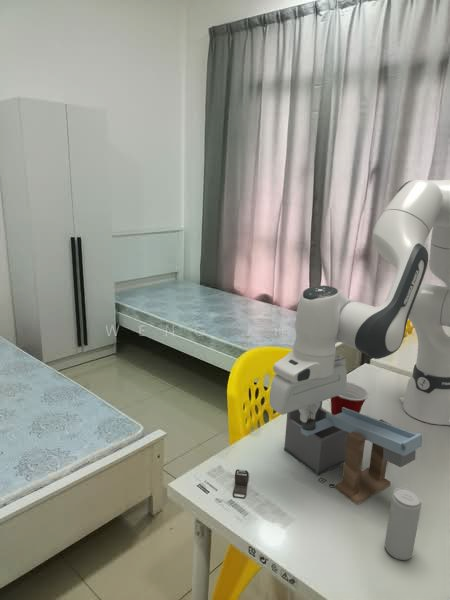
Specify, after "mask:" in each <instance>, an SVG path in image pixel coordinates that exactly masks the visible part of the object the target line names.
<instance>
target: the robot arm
mask: <svg viewBox="0 0 450 600" xmlns="http://www.w3.org/2000/svg"><path fill="white" fill-rule="evenodd" d="M376 221H377V222H376V223H375V226H374V227H373V230H372V243H373V246H374V248H375V249H376V251H377V253H379V255H380V256H381V257H382V258H383V259H384V260H385V261H386V262H387V263H389V264H390V265H392V266H393V267H395V268H396V271H395V272H396V273H395V276H394V277H393V278H394V279H393V281H392V282H391V283H392V284H391V286H390V289H389V290H388V293H387V295H386V299H385V300H384V302H383V303H382V304H381V305H379V306H373V305H371V304H367V303H364V302H361V301H359V300H355V299H353V298H349V297H347V296H345V295H343V294H341V292H339V290H338V289H337V288H336V287H335V286H334V287H333V286H330V285H313V286H309V287H308V288H306V289H305V290H303V291H302V292H301V295H300V297H299V300H298V304H297V309H296V314H295V315H296V316H295V322H294V323H295V325H294V327H295V328H294V329H295V340H294V343H293V349H292V350H291V351H290V352H289V353H287V354H286V355H285V356H284V357H282V358H281V359H279V360H277V361H276V362H274V364H273V367H272V370H273V372H274V373H275V375H274V376H273V377H272V380H271V382H270V383H271V384H270V390H269V406H270V407H271V409H272V410H274V411H275V412H276V413H278V414H279V415H281V416H282V415H287V413H289V412H292V411H295V410H299V412H300V420H301V421H302V422H304V423H305V422H308V421H311V420H314V419H315V414H316V412H317V410H318V408H319V406H320V404H321V401H322V402H323V401H324V402H325V401H326V400H329V399H330V400H331V398H332V397H335V396H338V395H341V394H343V393H344V392H345V390H346V384H347V382H348V380H347V379H348V372H347V368H346V362H347V360H346V358H345V357H344V355H342V354H336V353H337V349H336V348H337V347H336V344H338V343H341V344H344V345H346V346H348V347H351V348H353V349H355V350H358V351H359V352H361V353H362V354H365V355H366V356H368V357H370V358H372V359H375V360H380V359H384V358H386V357H388V356H391V355H393V354H394V353H396V352H397V351H398V350H399V349H400V347H402V346H401V345H402V344H403V341H404V338H405V333H406V330H407V323H408V320H409V321H410V323H411V325H412V327H413V328H414V330H415V331H414V332H415V333H416V337H417V353H416V361H415V362H416V363H415V364H414V366H413V369H412V377H410V378H409V379H408V381H407V383H406V387H405V393H404V396H400V398H399V401H400V402H401V404H402V408H403V410H404V412H405V413H406V414H407V415H409V416H410V417H411V418H414V419H416V420H418V421H421V422H423V423H424V422H425V423H427V424H431V425H442V426H443V425H444V426H450V336H449V335H448V334H447V333H446V332H445V330H444V328H443V326H445V327H449V328H450V179H442V180H441V179H421V178H419V179H418V178H417V179H413V180H409V181H407V182H405V183H404V184H402V185H401V186H400V188H399V189H398V190H397V192H396V195H395V196H394V197H393V198H392V199H391V201H389V203H388V204H387V206H386V208H385V209H384V210H383V213H382V214H381V215H380V216H379V219H378V220H376ZM430 233H431V238H430V248H429V253H428V249H427V248H426V247H425V244H426V240H427V238H428V236H429V235H430ZM428 266H429V267H428ZM427 268H429V270H430V271H431V273H432V274H433V275H434V276H435V277H436V278H438V280H441V281H442V282H443V283H444V284H445V285H446V286H440V285H436V284H429V283H423V281H424V277H425V275H426V272H427ZM309 405H310V406H309ZM308 407H309V408H308ZM306 409H308V410H306Z"/></svg>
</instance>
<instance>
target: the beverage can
mask: <svg viewBox="0 0 450 600" xmlns="http://www.w3.org/2000/svg"><path fill="white" fill-rule="evenodd" d="M421 509H422V497H421V496H420V495H419V494H418V493H417V492H416V491H414V490H413V489H410V488H408V487H398V488H395V489H394V491H393V493H392V497H391V501H390V507H389V513H388V514H389V515H388V520H387V527H386V533H385V539H384V540H385V541H384V547H385V550H386V551H387V553H388V554H389V555H390V556H391V557H393V558H394V559H396V560H399V561H406V560H409V559H411V558H412V556H413V553H414V552H413V551H414V547H415V542H416V536H417V530H418V526H419V519H420V514H421Z"/></svg>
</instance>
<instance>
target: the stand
mask: <svg viewBox="0 0 450 600" xmlns="http://www.w3.org/2000/svg"><path fill="white" fill-rule="evenodd" d="M378 420H379V421H382V422H385V423H387V424H390V425H392V424H391V423H388V422H387V421H385V420H383V419H378ZM365 444H366V440H365V437H363V436H361V435H359V434H358V433H356V432H354V431H353V432H351V433H349V434H348V436H347V444H346V452H345V460H344V463H343V470H342V479H341V481H340V482H338V483H336V484H335V490H337V491H338V492H340V493H341V494H343V495H344V496H345V497H346V498H348V499H349V500H351V501H352V502H353V503H355V505H359V504H360V503H363V502H364V501H366V500H368V499H369V498H371V497H373V496H374V495H376V494H378V493H380V492H381V491H383V490H384V489H386V488H388V487H390V486H391V481H390V479H389V480H388V479H387V478H386V473H387V465H388V461H385V460H383V447H382V446H379V445H377V444H375V443H372V445H371V453H370V459H369V465H368V467H366V468H364V469H363V470H362V466H363V460H364V452H365Z"/></svg>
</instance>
